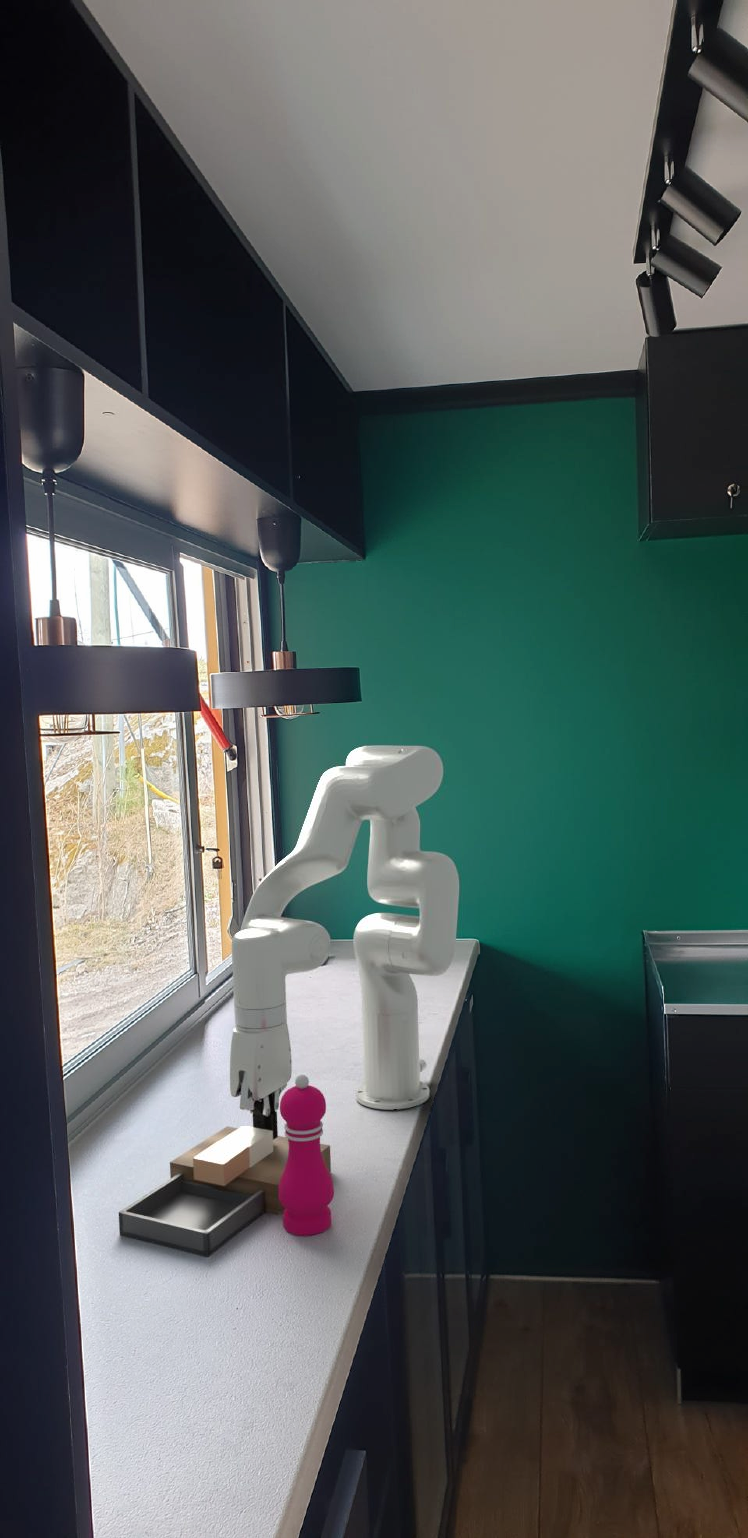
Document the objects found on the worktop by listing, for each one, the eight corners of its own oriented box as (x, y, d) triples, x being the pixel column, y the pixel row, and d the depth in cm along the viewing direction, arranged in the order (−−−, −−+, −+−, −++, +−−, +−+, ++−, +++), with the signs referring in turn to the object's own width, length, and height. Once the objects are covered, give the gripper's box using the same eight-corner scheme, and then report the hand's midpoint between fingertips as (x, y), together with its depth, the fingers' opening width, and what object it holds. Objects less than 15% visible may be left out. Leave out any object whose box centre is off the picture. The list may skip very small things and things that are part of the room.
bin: (181, 1193, 156) (180, 1172, 156) (265, 1211, 150) (264, 1190, 149) (119, 1234, 145) (118, 1212, 144) (207, 1256, 138) (206, 1233, 138)
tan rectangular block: (219, 1161, 157) (218, 1140, 156) (249, 1167, 154) (248, 1146, 154) (194, 1179, 151) (192, 1157, 151) (224, 1185, 149) (223, 1164, 149)
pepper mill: (305, 1206, 151) (300, 1062, 149) (346, 1221, 146) (341, 1072, 145) (268, 1227, 145) (262, 1077, 144) (308, 1243, 141) (303, 1089, 139)
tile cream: (244, 1145, 162) (243, 1125, 162) (273, 1151, 160) (272, 1130, 159) (220, 1161, 157) (219, 1140, 156) (250, 1167, 154) (249, 1146, 154)
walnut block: (228, 1151, 170) (227, 1126, 169) (330, 1172, 161) (330, 1145, 161) (171, 1189, 157) (169, 1162, 157) (279, 1213, 149) (278, 1184, 149)
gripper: (267, 998, 169) (271, 1116, 171) (208, 1026, 156) (214, 1153, 158) (309, 1003, 166) (314, 1123, 167) (253, 1032, 153) (258, 1162, 154)
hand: (265, 1138), depth 162 cm, fingers closed
